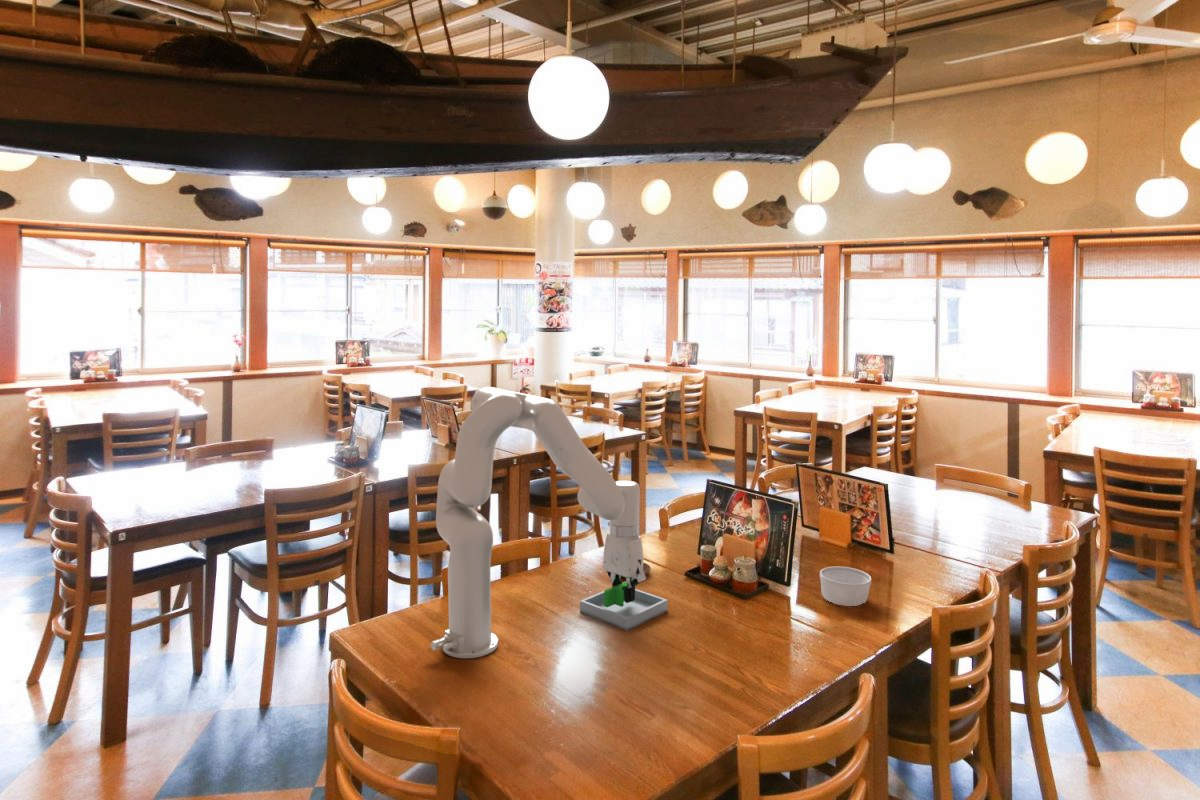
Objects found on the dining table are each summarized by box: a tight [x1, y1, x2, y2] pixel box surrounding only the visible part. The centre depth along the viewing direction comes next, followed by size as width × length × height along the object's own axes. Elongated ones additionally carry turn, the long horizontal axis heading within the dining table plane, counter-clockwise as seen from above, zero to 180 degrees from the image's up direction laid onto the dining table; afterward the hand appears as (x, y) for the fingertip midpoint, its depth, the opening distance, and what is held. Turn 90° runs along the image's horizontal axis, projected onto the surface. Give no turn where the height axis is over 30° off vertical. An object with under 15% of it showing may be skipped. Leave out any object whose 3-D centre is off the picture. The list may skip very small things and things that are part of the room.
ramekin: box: [819, 565, 872, 606], centre depth 194 cm, size 13×13×7 cm
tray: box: [579, 588, 669, 632], centre depth 185 cm, size 16×16×3 cm
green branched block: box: [603, 579, 634, 607], centre depth 185 cm, size 10×4×4 cm, turn 139°
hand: (623, 598), depth 185 cm, fingers closed on green branched block, 3 cm apart
